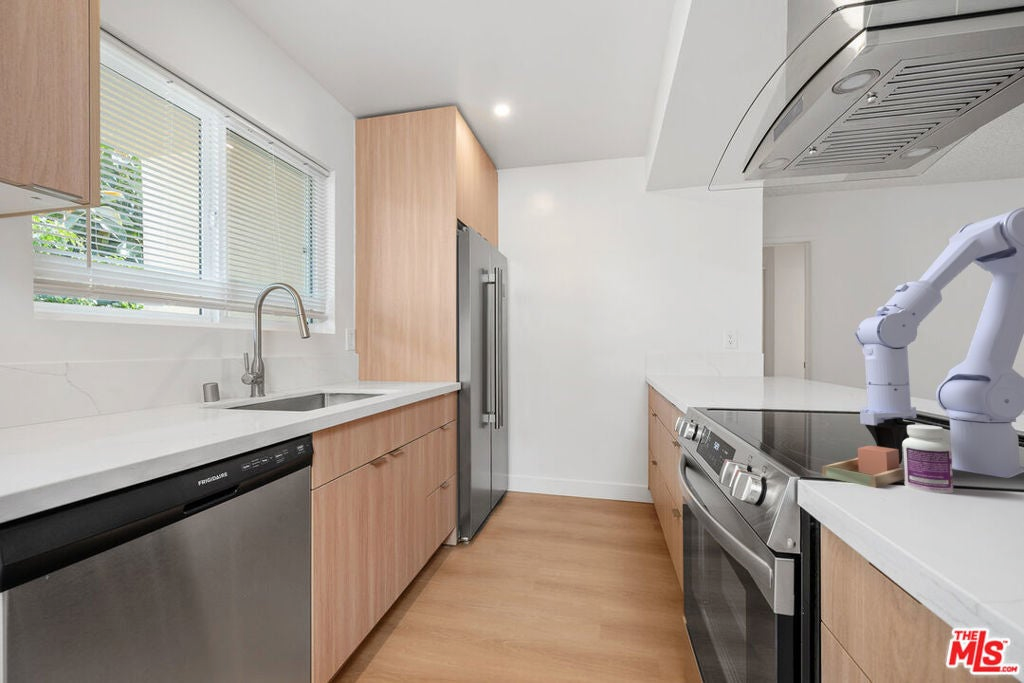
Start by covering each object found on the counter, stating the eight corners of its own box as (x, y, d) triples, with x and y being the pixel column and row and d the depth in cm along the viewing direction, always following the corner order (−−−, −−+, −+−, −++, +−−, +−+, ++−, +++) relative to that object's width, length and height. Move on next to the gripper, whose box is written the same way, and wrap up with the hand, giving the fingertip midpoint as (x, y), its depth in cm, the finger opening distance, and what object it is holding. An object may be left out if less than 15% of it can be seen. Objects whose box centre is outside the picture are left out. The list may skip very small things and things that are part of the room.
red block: (871, 468, 76) (869, 445, 76) (899, 473, 72) (898, 449, 72) (858, 471, 74) (857, 448, 74) (887, 477, 70) (886, 452, 70)
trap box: (872, 466, 79) (872, 454, 79) (925, 475, 73) (924, 462, 73) (822, 479, 72) (821, 466, 72) (875, 491, 65) (875, 476, 65)
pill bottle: (964, 498, 62) (960, 429, 62) (921, 496, 63) (917, 429, 63) (935, 486, 67) (932, 423, 67) (895, 485, 68) (892, 423, 68)
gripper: (881, 381, 82) (885, 453, 82) (838, 385, 76) (842, 463, 75) (929, 382, 76) (934, 461, 76) (887, 387, 70) (892, 473, 69)
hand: (891, 463), depth 75 cm, fingers closed
